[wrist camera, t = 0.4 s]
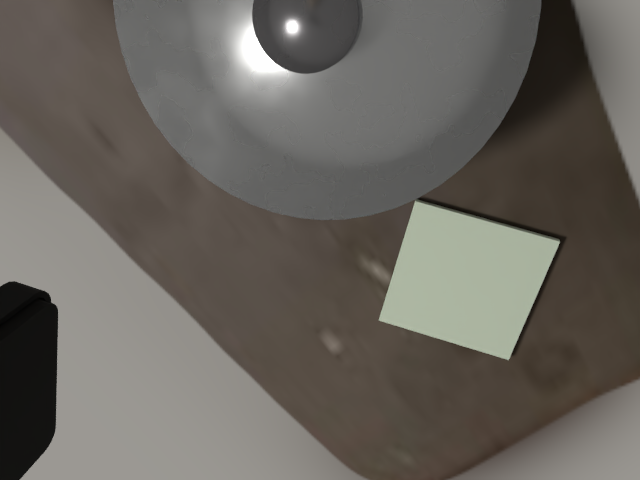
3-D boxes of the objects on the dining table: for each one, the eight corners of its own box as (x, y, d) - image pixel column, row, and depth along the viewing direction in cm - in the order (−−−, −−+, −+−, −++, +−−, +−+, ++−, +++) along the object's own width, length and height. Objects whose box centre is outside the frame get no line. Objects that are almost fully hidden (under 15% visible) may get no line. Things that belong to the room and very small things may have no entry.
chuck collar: (457, 254, 33) (456, 300, 28) (115, 155, 35) (59, 182, 30) (615, -191, 24) (655, -238, 19) (143, -284, 26) (70, -348, 21)
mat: (415, 199, 37) (415, 201, 36) (559, 239, 36) (560, 241, 35) (379, 317, 41) (378, 320, 40) (508, 356, 40) (508, 359, 39)
